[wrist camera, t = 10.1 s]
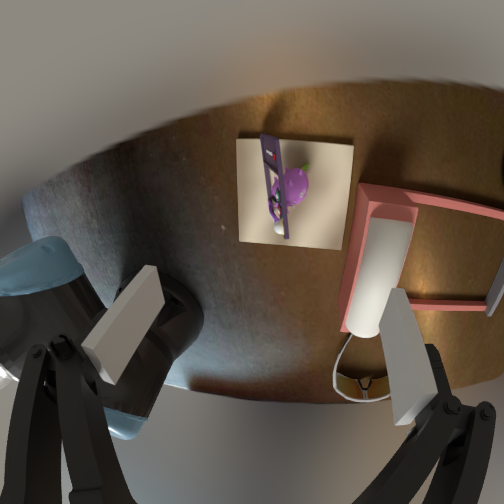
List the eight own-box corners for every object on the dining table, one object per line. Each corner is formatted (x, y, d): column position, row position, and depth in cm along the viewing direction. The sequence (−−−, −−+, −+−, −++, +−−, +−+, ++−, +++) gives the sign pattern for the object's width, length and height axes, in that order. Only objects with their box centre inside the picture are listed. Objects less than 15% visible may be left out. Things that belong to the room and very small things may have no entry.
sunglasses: (326, 382, 45) (326, 402, 41) (340, 318, 40) (343, 338, 35) (396, 381, 43) (400, 400, 38) (421, 319, 37) (431, 338, 33)
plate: (240, 238, 33) (239, 241, 33) (238, 138, 27) (236, 139, 27) (340, 246, 31) (340, 250, 31) (352, 145, 25) (353, 146, 25)
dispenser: (337, 299, 35) (340, 345, 28) (358, 182, 27) (374, 210, 20) (485, 306, 31) (504, 341, 24) (521, 215, 23) (554, 243, 16)
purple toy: (264, 139, 20) (277, 242, 24) (327, 133, 20) (331, 231, 25) (252, 134, 26) (263, 215, 30) (301, 128, 26) (308, 207, 30)
